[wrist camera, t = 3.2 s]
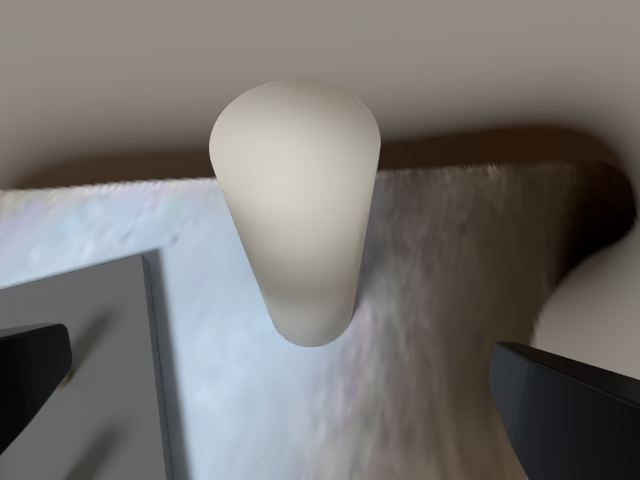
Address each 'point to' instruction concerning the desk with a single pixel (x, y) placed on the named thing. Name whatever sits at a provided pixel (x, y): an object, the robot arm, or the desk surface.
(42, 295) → the charcoal plate
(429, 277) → the desk surface
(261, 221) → the cream post
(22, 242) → the desk surface
